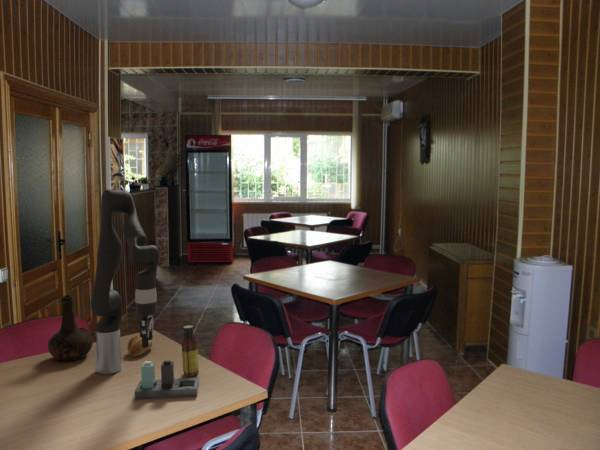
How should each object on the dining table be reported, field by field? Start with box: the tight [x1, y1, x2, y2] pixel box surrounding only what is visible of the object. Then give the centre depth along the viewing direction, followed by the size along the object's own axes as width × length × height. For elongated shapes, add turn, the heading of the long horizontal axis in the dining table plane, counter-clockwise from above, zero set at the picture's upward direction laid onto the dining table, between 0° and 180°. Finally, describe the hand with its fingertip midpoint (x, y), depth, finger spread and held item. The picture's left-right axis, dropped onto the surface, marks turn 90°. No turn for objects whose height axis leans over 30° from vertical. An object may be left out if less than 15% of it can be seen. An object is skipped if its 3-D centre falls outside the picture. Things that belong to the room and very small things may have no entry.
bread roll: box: [127, 334, 154, 357], centre depth 230 cm, size 10×15×8 cm, turn 173°
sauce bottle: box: [181, 324, 200, 377], centre depth 204 cm, size 7×6×20 cm
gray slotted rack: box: [134, 359, 200, 401], centre depth 187 cm, size 22×10×12 cm, turn 97°
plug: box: [140, 360, 156, 389], centre depth 187 cm, size 4×4×12 cm
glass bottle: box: [47, 294, 94, 362], centre depth 222 cm, size 18×18×28 cm
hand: (147, 343), depth 185 cm, fingers open, 8 cm apart
